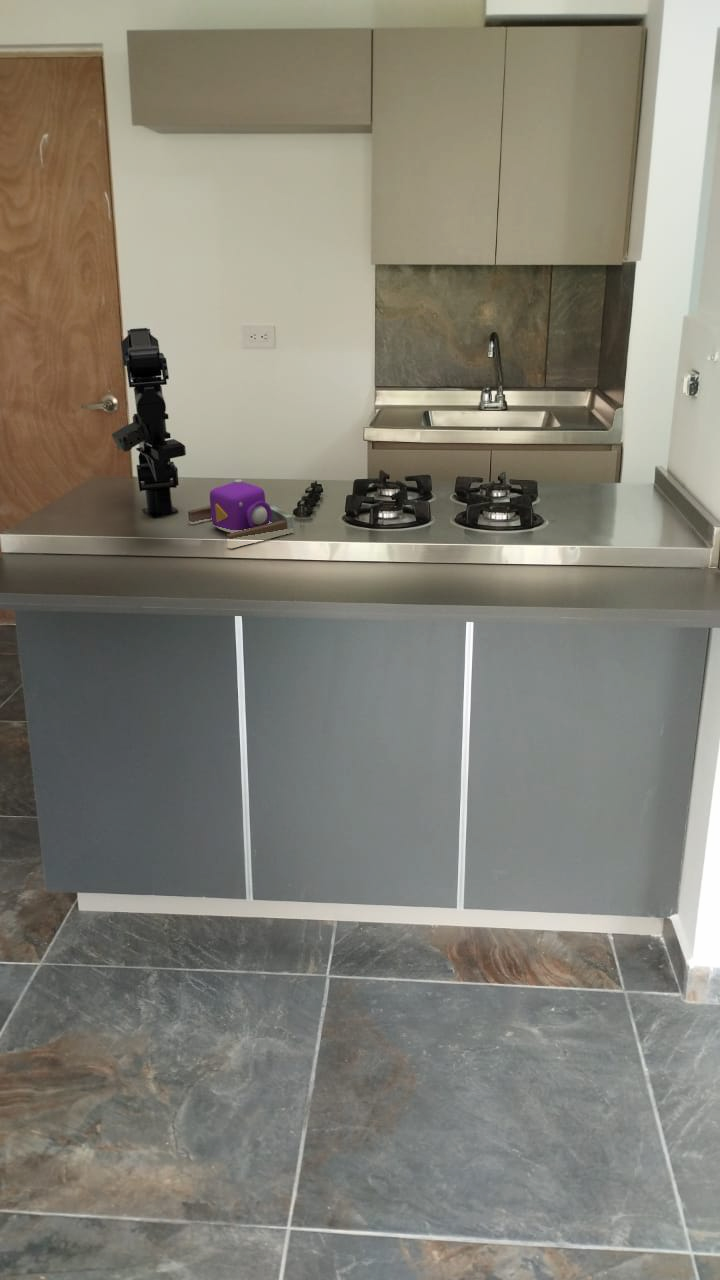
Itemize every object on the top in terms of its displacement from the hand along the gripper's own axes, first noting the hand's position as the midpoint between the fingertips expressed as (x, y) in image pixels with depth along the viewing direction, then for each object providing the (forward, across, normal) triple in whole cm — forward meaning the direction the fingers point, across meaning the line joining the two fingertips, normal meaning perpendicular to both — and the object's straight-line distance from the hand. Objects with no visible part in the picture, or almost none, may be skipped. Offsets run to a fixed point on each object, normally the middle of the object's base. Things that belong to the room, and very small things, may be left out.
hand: (158, 480), depth 233 cm
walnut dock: (+12, +8, +15) cm, 21 cm away
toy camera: (+12, +9, +15) cm, 22 cm away
